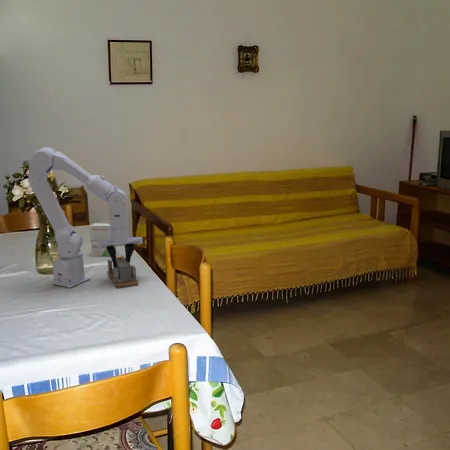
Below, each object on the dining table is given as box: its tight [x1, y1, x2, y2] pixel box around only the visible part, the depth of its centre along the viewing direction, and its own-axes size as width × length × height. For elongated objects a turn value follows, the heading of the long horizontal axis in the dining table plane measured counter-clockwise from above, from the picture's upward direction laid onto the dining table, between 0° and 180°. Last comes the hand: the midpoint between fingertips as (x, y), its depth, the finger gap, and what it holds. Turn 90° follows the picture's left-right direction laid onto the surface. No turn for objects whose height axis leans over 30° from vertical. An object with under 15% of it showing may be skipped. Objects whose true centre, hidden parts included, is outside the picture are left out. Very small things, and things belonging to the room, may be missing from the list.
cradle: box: [106, 256, 139, 289], centre depth 176 cm, size 16×7×6 cm, turn 22°
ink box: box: [89, 222, 117, 257], centre depth 203 cm, size 9×5×12 cm, turn 84°
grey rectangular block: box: [112, 255, 132, 280], centre depth 175 cm, size 12×4×5 cm, turn 22°
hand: (121, 266), depth 176 cm, fingers closed on grey rectangular block, 3 cm apart
